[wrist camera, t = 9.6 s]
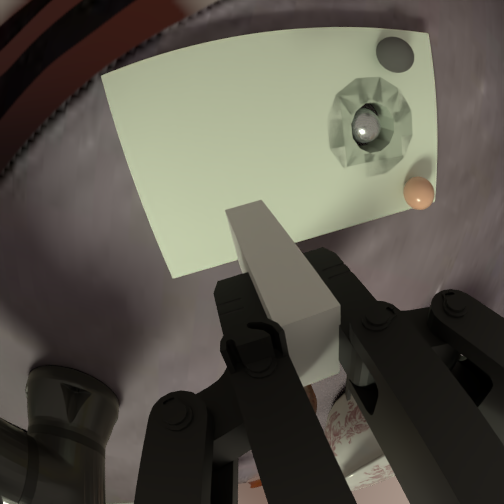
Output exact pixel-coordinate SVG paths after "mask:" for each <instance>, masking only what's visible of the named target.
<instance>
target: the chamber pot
mask: <svg viewBox="0 0 504 504" xmlns="http://www.w3.org/2000/svg"><path fill="white" fill-rule="evenodd" d="M324 433H325V436H326V438H327V440H328V442H329V444H330V447H331V449H332V451H333V453H334V455H335V457H336V460H337V462H338V464H339V466H340V468H341V471H342V473H343V475H344V477H345V479H346V481H347V483H348V486H349V488H350V490H351V491H353V490H358V489H362V488H365V487H368V486H371V485H374V484H377V483H379V482H382V481H384V480H387V479H389V478H392V477H394V476H395V474H394V472H393V470H392V468H391V466H390V464H389V462H388V461H387V459H386V457H385V455H384V453H383V451H382V449H381V448H380V446H379V444H378V442H377V440H376V438H375V436H374V435H373V433H372V431H371V429H370V427H369V425H368V423H367V422H366V420H365V418H364V416H363V414H362V412H361V411H360V409H359V407H358V405H357V403H356V402H355V400H354V398H353V396H352V394H351V399H350V400H348V401H347V399H346V396H345V393H344V394H343V395H342V396H341V397H340V398H339V399H338V400H337V401H336V402H335V403H334V405H333V406H332V408H331V410H330V412H329V414H328V418H327V423H326V427H325V431H324Z"/></svg>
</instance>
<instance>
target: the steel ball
mask: <svg viewBox="0 0 504 504" xmlns="http://www.w3.org/2000/svg"><path fill="white" fill-rule="evenodd" d="M351 127H352V136H353V139H354V140H355V141H357V142H360V143H368V142H371V141H373V140H375V139H376V138H377V136H378V135H379V133H380V129H381V124H380V120H379V118H378V116H377V115H376V114H375V113H374V112H373V111H371V110H370V109H367V108H359V109H358V110H357V111H356V113H355V115H354V118H353V121H352V123H351Z"/></svg>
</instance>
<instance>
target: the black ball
mask: <svg viewBox="0 0 504 504" xmlns="http://www.w3.org/2000/svg"><path fill="white" fill-rule="evenodd" d="M376 56H377V59H378V61H379V63H380V64H381V65H382V66H383V67H384V68H385V69H387V70H388V71H391V72H394V73H402V72H405V71H407V70H409V69H410V68H411V67H412V65H413V63H414V52H413V50H412V48H411V46H410V45H409V44H408V43H407V42H406V41H404V40H403V39H401V38H398V37H386V38H384V39H382V40H381V41H380V42H379V43H378V45H377V48H376Z"/></svg>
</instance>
